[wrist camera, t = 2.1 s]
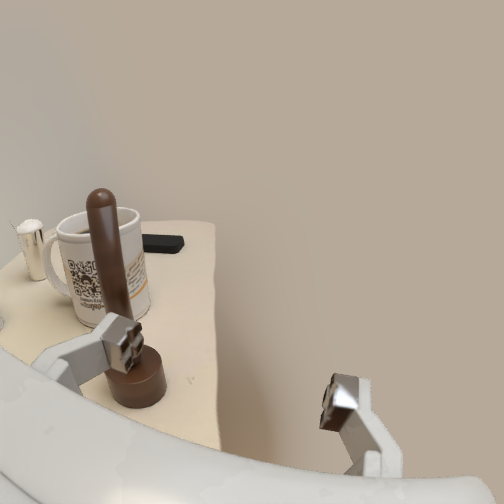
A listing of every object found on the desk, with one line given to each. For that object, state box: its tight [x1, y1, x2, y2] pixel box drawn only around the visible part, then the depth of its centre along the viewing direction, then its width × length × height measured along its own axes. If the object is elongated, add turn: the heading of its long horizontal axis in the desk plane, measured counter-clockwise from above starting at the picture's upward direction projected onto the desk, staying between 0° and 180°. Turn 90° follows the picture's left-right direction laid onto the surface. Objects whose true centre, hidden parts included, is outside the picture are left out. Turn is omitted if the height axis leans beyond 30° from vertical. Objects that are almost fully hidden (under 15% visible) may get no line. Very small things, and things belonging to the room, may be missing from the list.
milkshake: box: [16, 219, 47, 281], centre depth 40 cm, size 5×5×10 cm
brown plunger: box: [86, 188, 167, 408], centre depth 21 cm, size 5×5×17 cm
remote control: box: [142, 234, 184, 253], centre depth 54 cm, size 5×2×15 cm
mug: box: [42, 207, 151, 328], centre depth 34 cm, size 10×12×11 cm
